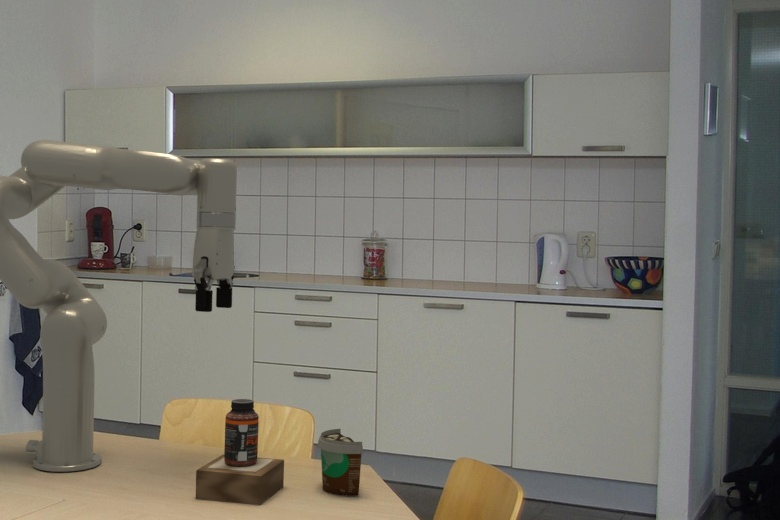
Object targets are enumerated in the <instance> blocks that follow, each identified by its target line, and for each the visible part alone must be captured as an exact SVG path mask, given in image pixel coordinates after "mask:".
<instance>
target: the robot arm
mask: <svg viewBox="0 0 780 520" xmlns="http://www.w3.org/2000/svg"><path fill="white" fill-rule="evenodd" d="M20 165H21V167H20V168H18V169H17V170H16V171H14V172H13V173H12V174H9V176H7V175H0V281H1V283H2V284H3V285H4V286H5V288H6V289H7V291H8V292H10V294H11V296H13V298H14V299H15V300H16V302H18V304H20V305H21V306H22V307H25V308H28V309H34V310H36V309H42V310H43V311H44V313H45V314H46V315H45V317H44V319H43V321H42V322H41V323H42V324H41V326H40V334H39V335H40V346H41V348H40V349H41V354H42V355H41V356H42V427H41V428H42V430H41V432H42V434H41V436H42V437H41V440H38V439H37V440H36V439H29V440H28V441H27V443H26V446H25V451H26V452H29V453H36V457H35V458H34V459H33V462H32V463H33V464H32V465H33V467H34V468H35V469H37V470H41V471H45V472H54V473H59V472H60V473H65V472H77V471H78V472H79V471H84V470H89V469H92V468H95V467H98V466H99V465H100V464H101V463H102V456H101V455H100V454H98V453H97V452H94V426H95V424H94V423H95V422H94V421H95V417H94V416H95V413H94V412H95V361H94V352H93V345H95V344H96V343H98V342H99V341H100V340H101V339H102V338H103V337H104V336H105V334H106V331H107V328H108V319H107V315H106V313H105V311H104V309H103V308H102V306H101V305H100V304H99V302H98V301H97V299H95V298H94V296H93V295H92V294H91V292H90V291H89V290H88V289H87V287H85V286H84V284H83V282H82V281H80V279H79V278H78V276H76V274H75V273H74V271H72V270H71V269H70V268H69V267H68V266H67V265H65V264H64V263H63V262H61V261H58V260H56V259H53V258H52V259H50V258H48V259H47V258H43V257H42V256H41V255H40V253H38V252H37V251H36V249H34V247H33V246H32V245H31V243H30V242H29V241H28V240H27V238H26V237H25V236H24V235H23V234H22V233H21V232H20V231H19V230H18V229H17V228H16V227H15V226H14V225H13V224H12V223H11V221H10V220H16V219H20V218H23V217H25V216H27V215H28V214H30V213H31V212H34V210H36V209H37V208H38V207H40V206H41V205H43V204H44V203H45V202H46V201H48V200H50V198H52V197H53V196H55V195H56V194H58V192H60V191H62V189H64V188H65V187H74V188H83V189H90V190H91V189H95V190H102V191H112V190H132V191H141V192H150V193H151V192H152V193H158V194H159V193H160V194H166V195H167V194H168V195H174V196H190V195H191V196H192V195H196V197H197V198H196V199H197V200H196V233H195V237H194V238H195V239H194V245H193V246H194V247H193V257H192V259H193V260H192V273H191V274H192V275H191V276H192V279H193V282H194V284H195V285H194V290H195V305H194V306H195V308H194V309H195V311H196V312H200V313H201V312H204V313H211V312H212V311H213V290H212V286H213V284H214V281H216V282H217V285H218V287H216V289H215V290H216V291H215V292H216V295H215V307H216V308H222V309H231V308H232V306H233V287H234V282H233V281H234V278H235V276H234V273H235V245H234V243H235V242H234V231H236V221H237V220H236V219H237V217H236V215H237V178H238V177H237V176H238V175H237V174H238V173H237V171H238V170H237V163H236V162H235V161H234V160H232V159H228V158H215V157H214V158H213V157H211V158H203V159H201V160H199V159H192V158H187V157H184V156H182V155H178V154H173V153H165V152H158V151H157V152H156V151H155V152H154V151H145V150H135V149H126V148H118V147H115V146H107V145H99V144H97V145H96V144H87V143H79V142H69V141H59V140H51V139H50V140H48V139H41V140H35V141H32V142H31V143H29V144H28V145H26V147H24V149H23V151H22V153H21V157H20Z"/></svg>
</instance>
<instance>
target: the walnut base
mask: <svg viewBox="0 0 780 520" xmlns="http://www.w3.org/2000/svg"><path fill="white" fill-rule="evenodd" d="M284 473H285V459H280V458H279V459H278V458H270V457H268V458H267V457H258V456H257V462H256V463H255V464H253V465H250V466H232V465H228V464H226V463H225V461H224V453H223V454H222V455H220V456H218V457H216V458H215V459H213V460H211V461H210V462H208V463H206V464H204V465H203V466H201V467H199V468H197V469H196V470H195V499H197V500H208V501H209V500H210V501H218V502H227V503H237V504H249V505H256V506H261V505H262V504H263V503H265V502H266V501H267V500H269V498H271V497H272V496H274V495H275V494H277V492H279V491H280V490H281V489H282V488H284V484H285V483H284V480H285V478H284V477H285V474H284Z"/></svg>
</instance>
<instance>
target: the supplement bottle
mask: <svg viewBox="0 0 780 520" xmlns="http://www.w3.org/2000/svg"><path fill="white" fill-rule="evenodd" d="M254 403H255V402H254V400H253V399H248V398H237V399H232V400H231V404H230V408H231V409H230V411H229V412H227V413H226V415H225V419H224V420H225V423H224V424H225V425H224V450H223V451H224V453H223V454H224V461H225V463H226V464H228V465H232V466H250V465H253V464H255V463H256V462H257V457H258V453H259V452H258V448H259V423H260V422H259V421H260V420H259V418H260V417H259V414H258V413H257V412H256V410H255V409H254V408H255V404H254Z"/></svg>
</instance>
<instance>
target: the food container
mask: <svg viewBox="0 0 780 520" xmlns="http://www.w3.org/2000/svg"><path fill="white" fill-rule="evenodd" d="M341 433H342V432H341V428H333V429H327V430H324V431H322V432H320V435H319V437H318V441H317V444H316V445H317V448H318V449H320V458H321V459H320V460H321V461H320V462H321V478H322V479H321V480H322V482H321V483H322V490H323V491H324V492H325V493H327V494H330V495H336V496H342V497H356V496H357V495H360V484H361V483H360V478H361V468H362V466H361V465H362V463H361V461H362V454H364V448H363V447H364V446H363V441H354V440H353V439H352V438H351V437H349V436H345V435H343V434H341Z"/></svg>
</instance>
